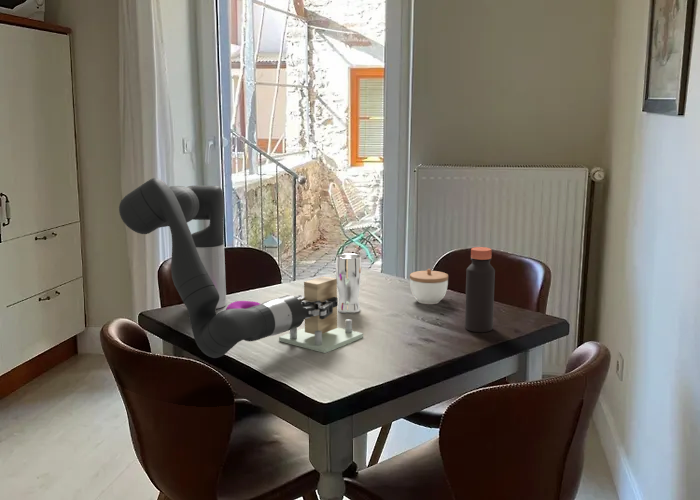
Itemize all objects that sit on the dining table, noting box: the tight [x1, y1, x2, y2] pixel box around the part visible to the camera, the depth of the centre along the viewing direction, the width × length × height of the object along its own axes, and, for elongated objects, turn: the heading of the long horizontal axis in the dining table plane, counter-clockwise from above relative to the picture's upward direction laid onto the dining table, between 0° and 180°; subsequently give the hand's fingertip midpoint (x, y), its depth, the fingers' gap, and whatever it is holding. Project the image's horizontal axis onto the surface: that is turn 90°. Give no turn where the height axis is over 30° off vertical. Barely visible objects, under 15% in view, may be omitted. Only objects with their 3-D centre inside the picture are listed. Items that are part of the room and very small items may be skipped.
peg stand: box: [278, 318, 364, 354], centre depth 165 cm, size 14×14×4 cm
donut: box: [225, 300, 261, 310], centre depth 181 cm, size 10×10×5 cm
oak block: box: [303, 276, 338, 334], centre depth 164 cm, size 7×4×12 cm, turn 142°
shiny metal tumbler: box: [335, 253, 363, 315], centre depth 188 cm, size 7×7×15 cm
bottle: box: [464, 246, 496, 333], centre depth 171 cm, size 7×7×20 cm
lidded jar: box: [409, 268, 449, 305], centre depth 197 cm, size 11×11×9 cm
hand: (328, 299), depth 166 cm, fingers open, 4 cm apart
